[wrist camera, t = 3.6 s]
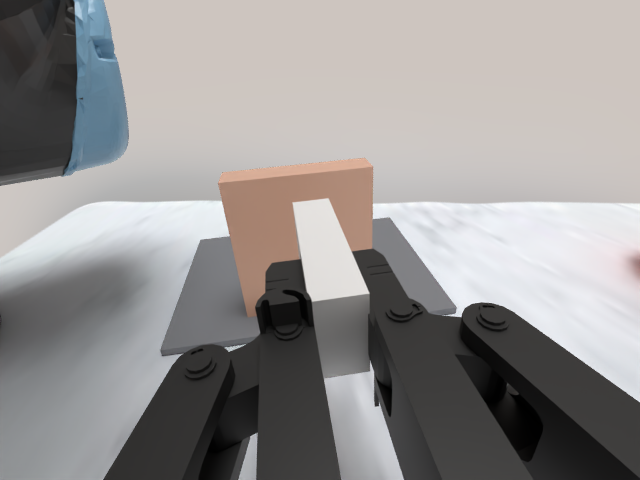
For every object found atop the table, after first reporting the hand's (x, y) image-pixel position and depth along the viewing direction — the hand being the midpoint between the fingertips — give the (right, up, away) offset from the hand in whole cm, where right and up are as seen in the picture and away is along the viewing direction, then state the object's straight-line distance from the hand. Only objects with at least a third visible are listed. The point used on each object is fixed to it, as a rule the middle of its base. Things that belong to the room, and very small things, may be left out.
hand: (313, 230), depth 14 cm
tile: (0, -5, +11) cm, 12 cm away
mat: (-1, -3, +15) cm, 15 cm away
